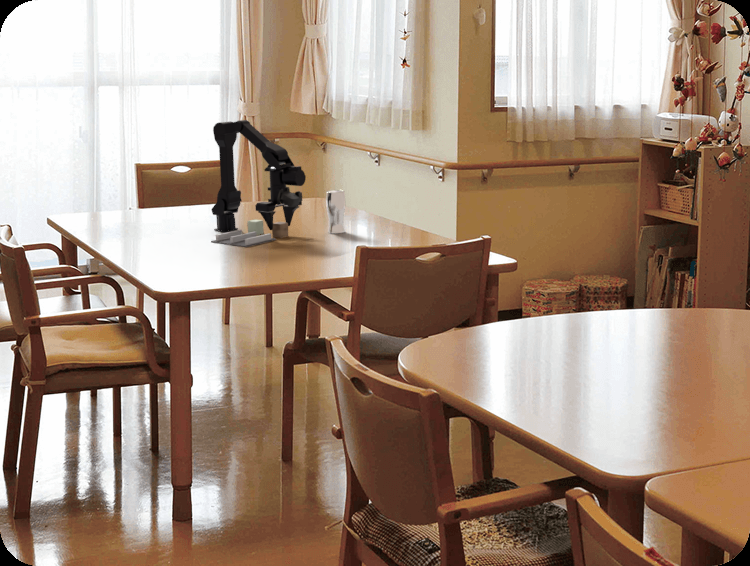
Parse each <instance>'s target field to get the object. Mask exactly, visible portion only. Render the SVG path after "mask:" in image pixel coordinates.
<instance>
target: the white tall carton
mask: <svg viewBox="0 0 750 566" xmlns="http://www.w3.org/2000/svg"><path fill="white" fill-rule="evenodd" d="M325 195H326V196H325V206H326V213H327V218H328V229H327V230H328V231H327V233H328V234H332V235H339V234H345V233H346V229H345V225H344V220H345V212H346V194H345V190H342V189H333V190H332V189H331V190H326V194H325Z"/></svg>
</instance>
